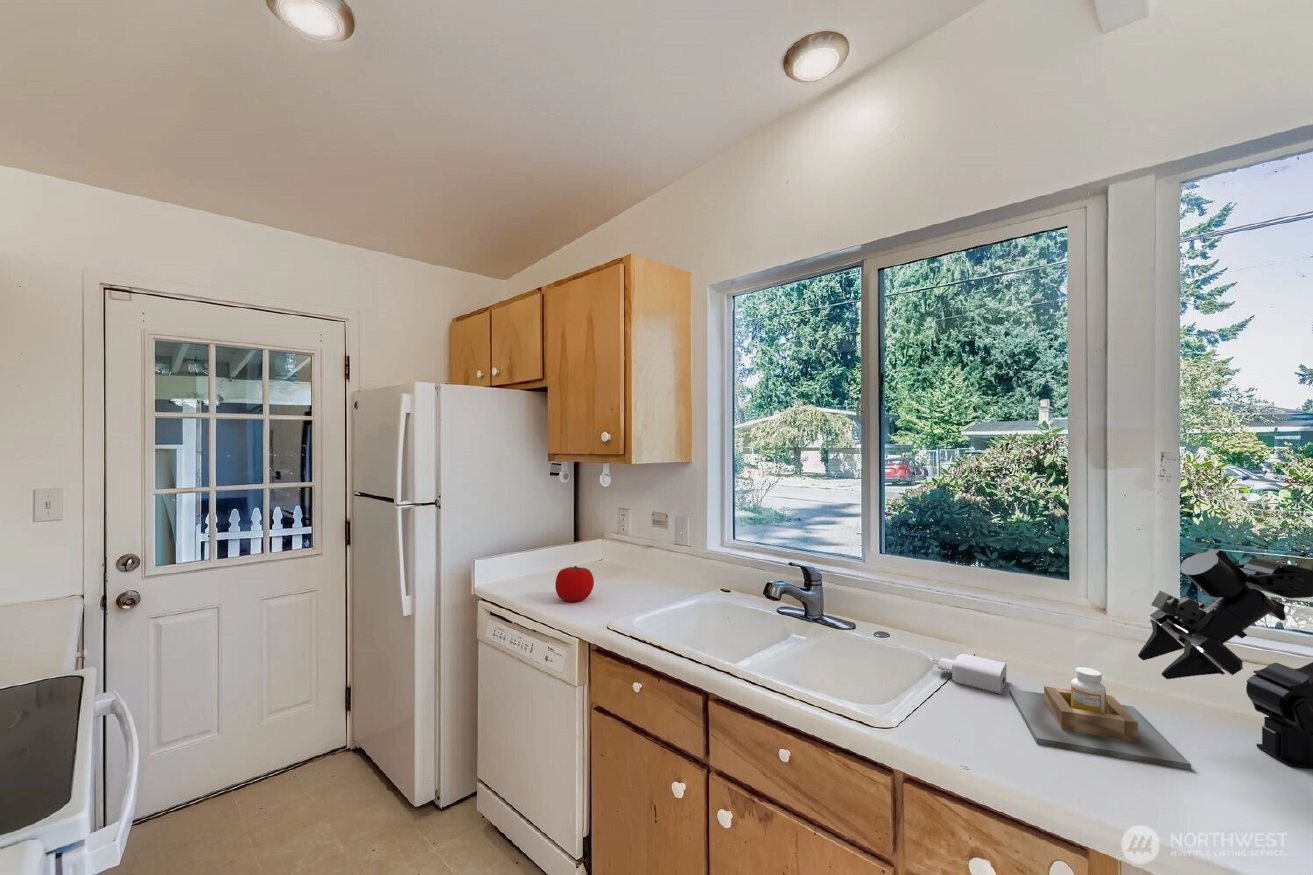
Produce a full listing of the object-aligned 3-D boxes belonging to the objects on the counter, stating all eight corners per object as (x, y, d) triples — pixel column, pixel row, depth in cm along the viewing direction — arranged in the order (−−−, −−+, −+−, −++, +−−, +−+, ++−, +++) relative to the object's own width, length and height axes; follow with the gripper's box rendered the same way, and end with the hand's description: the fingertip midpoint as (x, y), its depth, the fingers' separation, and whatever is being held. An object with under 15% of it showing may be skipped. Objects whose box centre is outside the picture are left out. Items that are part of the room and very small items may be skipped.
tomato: (548, 603, 187) (548, 569, 187) (566, 593, 200) (566, 560, 200) (582, 606, 183) (583, 571, 183) (598, 596, 196) (599, 563, 196)
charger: (935, 665, 137) (1006, 682, 127) (926, 676, 130) (1000, 695, 120) (935, 646, 137) (1006, 661, 127) (926, 656, 130) (1000, 674, 120)
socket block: (1133, 711, 113) (1133, 689, 113) (1191, 769, 93) (1190, 743, 93) (1008, 692, 121) (1008, 672, 121) (1036, 743, 101) (1036, 718, 101)
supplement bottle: (1085, 712, 110) (1084, 664, 110) (1113, 726, 105) (1113, 675, 105) (1064, 716, 109) (1064, 666, 109) (1092, 729, 104) (1092, 678, 104)
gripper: (1162, 568, 109) (1094, 617, 113) (1217, 591, 92) (1135, 649, 96) (1214, 613, 106) (1143, 662, 110) (1281, 646, 89) (1194, 702, 93)
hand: (1151, 666), depth 102 cm, fingers open, 9 cm apart
